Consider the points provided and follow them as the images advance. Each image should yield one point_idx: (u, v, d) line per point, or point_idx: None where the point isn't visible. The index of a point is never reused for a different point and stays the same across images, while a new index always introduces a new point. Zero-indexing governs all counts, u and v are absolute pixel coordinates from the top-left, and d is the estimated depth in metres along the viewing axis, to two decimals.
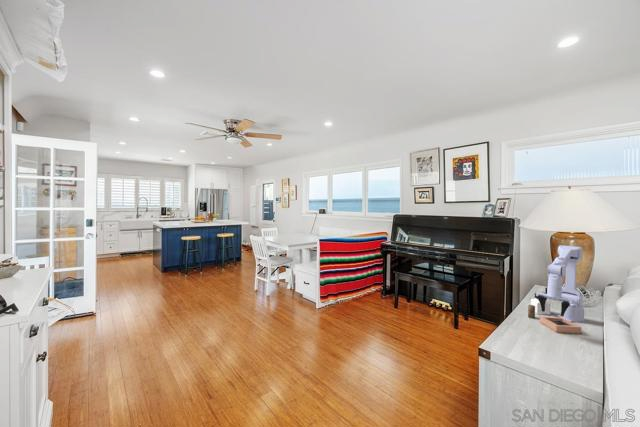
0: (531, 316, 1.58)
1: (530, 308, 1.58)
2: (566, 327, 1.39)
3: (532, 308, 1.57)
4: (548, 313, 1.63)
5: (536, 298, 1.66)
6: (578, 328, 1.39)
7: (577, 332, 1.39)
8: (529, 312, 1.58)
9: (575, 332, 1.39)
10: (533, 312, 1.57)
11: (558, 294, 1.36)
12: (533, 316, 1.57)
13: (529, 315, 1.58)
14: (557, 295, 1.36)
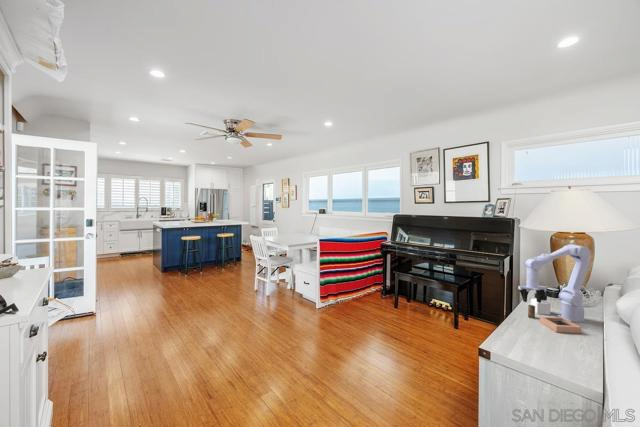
0: (531, 316, 1.58)
1: (530, 308, 1.58)
2: (566, 327, 1.39)
3: (532, 308, 1.57)
4: (548, 313, 1.63)
5: (536, 298, 1.66)
6: (578, 328, 1.39)
7: (577, 332, 1.39)
8: (529, 312, 1.58)
9: (575, 332, 1.39)
10: (533, 312, 1.57)
11: (538, 285, 1.56)
12: (533, 316, 1.57)
13: (529, 315, 1.58)
14: (538, 286, 1.56)
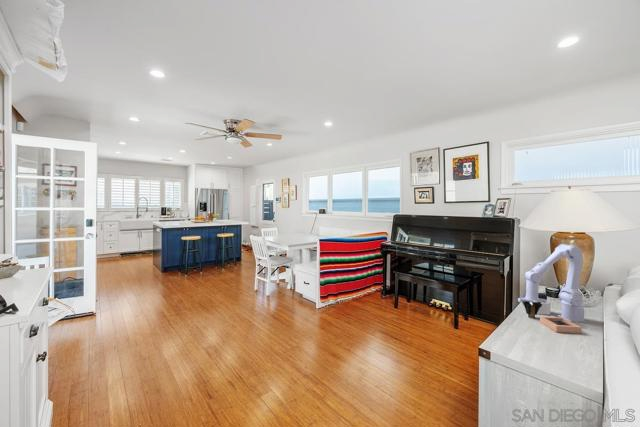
0: (531, 316, 1.58)
1: None
2: (566, 327, 1.39)
3: (532, 308, 1.57)
4: (548, 313, 1.63)
5: None
6: (578, 328, 1.39)
7: (577, 332, 1.39)
8: None
9: (575, 332, 1.39)
10: (533, 312, 1.57)
11: None
12: (533, 316, 1.57)
13: (529, 315, 1.58)
14: (537, 298, 1.56)
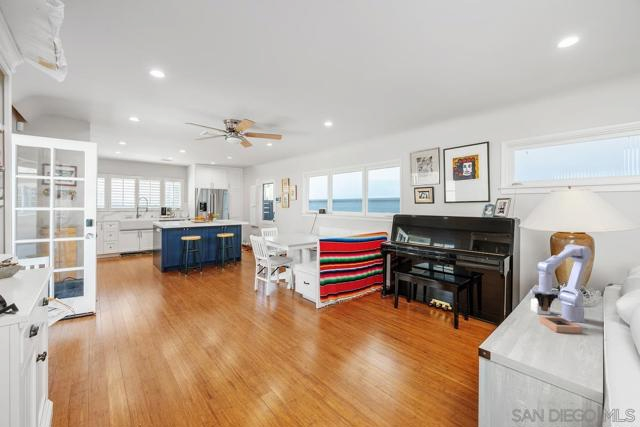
0: (544, 309, 1.51)
1: None
2: (566, 327, 1.39)
3: (545, 300, 1.51)
4: (548, 313, 1.63)
5: (536, 298, 1.66)
6: (578, 328, 1.39)
7: (577, 332, 1.39)
8: None
9: (575, 332, 1.39)
10: (546, 304, 1.51)
11: (551, 289, 1.50)
12: (547, 309, 1.51)
13: (542, 308, 1.52)
14: (551, 290, 1.50)
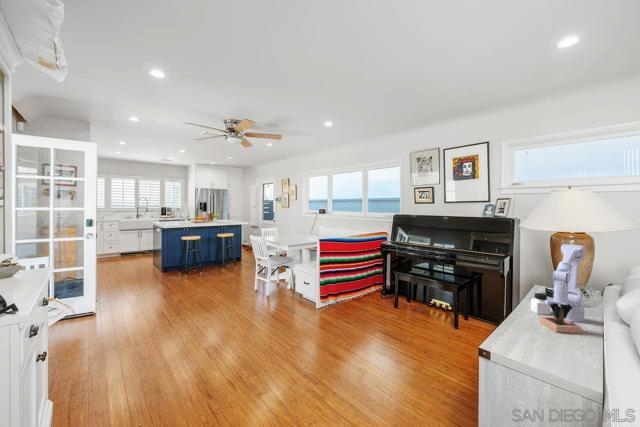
0: (560, 320, 1.44)
1: (559, 311, 1.44)
2: (566, 327, 1.39)
3: (561, 311, 1.44)
4: (548, 313, 1.63)
5: (536, 298, 1.66)
6: (578, 328, 1.39)
7: (577, 332, 1.39)
8: None
9: (575, 332, 1.39)
10: (562, 315, 1.44)
11: (567, 299, 1.43)
12: (562, 320, 1.44)
13: (557, 319, 1.45)
14: (567, 301, 1.43)
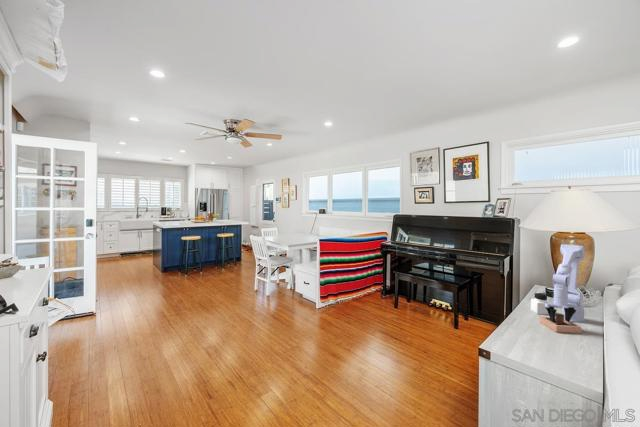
0: None
1: (558, 317, 1.44)
2: (566, 327, 1.39)
3: (561, 317, 1.44)
4: (548, 313, 1.63)
5: (536, 298, 1.66)
6: (578, 328, 1.39)
7: (577, 332, 1.39)
8: (557, 321, 1.45)
9: (575, 332, 1.39)
10: (562, 321, 1.44)
11: (567, 303, 1.43)
12: None
13: (557, 324, 1.45)
14: (567, 304, 1.43)
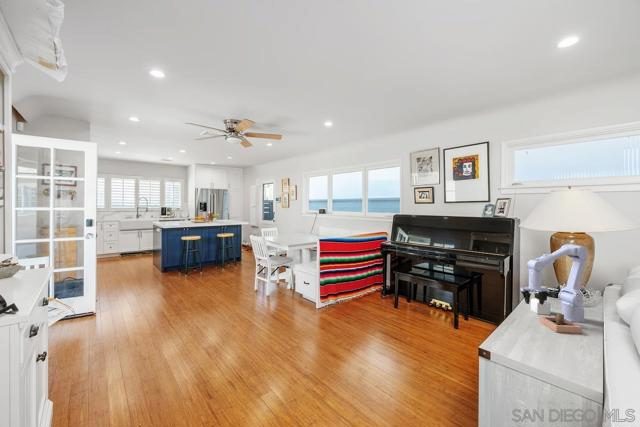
0: None
1: (558, 317, 1.44)
2: (566, 327, 1.39)
3: (561, 317, 1.44)
4: (548, 313, 1.63)
5: (536, 298, 1.66)
6: (578, 328, 1.39)
7: (577, 332, 1.39)
8: (557, 321, 1.45)
9: (575, 332, 1.39)
10: (562, 321, 1.44)
11: None
12: None
13: (557, 324, 1.45)
14: (540, 288, 1.53)
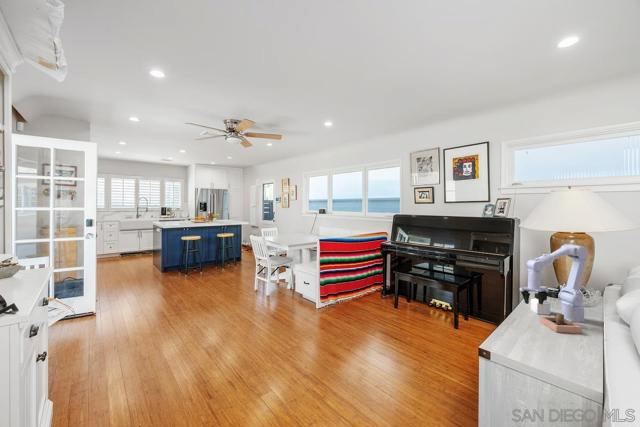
0: None
1: (558, 317, 1.44)
2: (566, 327, 1.39)
3: (561, 317, 1.44)
4: (548, 313, 1.63)
5: (536, 298, 1.66)
6: (578, 328, 1.39)
7: (577, 332, 1.39)
8: (557, 321, 1.45)
9: (575, 332, 1.39)
10: (562, 321, 1.44)
11: (540, 286, 1.53)
12: None
13: (557, 324, 1.45)
14: (540, 288, 1.53)
